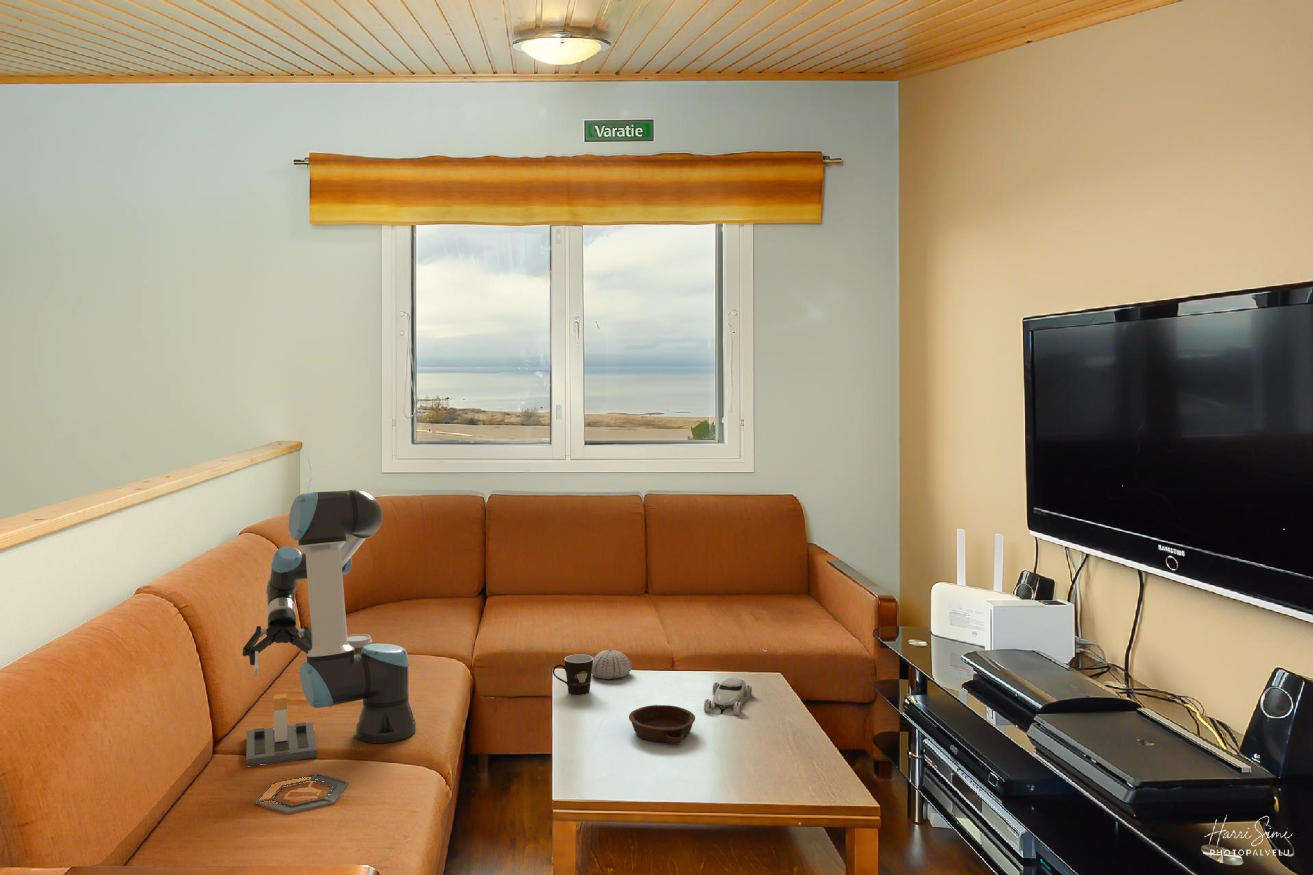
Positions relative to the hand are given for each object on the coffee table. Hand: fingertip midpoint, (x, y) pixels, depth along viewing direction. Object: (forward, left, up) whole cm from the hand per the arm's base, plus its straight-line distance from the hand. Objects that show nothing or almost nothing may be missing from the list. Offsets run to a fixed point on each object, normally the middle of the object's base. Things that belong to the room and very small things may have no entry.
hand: (283, 671), depth 254 cm
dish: (-88, -49, -15) cm, 102 cm away
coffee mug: (-49, -64, -15) cm, 82 cm away
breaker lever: (-11, +10, -13) cm, 20 cm away
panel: (-11, +10, -15) cm, 21 cm away
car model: (-92, -81, -16) cm, 124 cm away
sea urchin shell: (-49, -83, -15) cm, 98 cm away
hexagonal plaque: (-38, +25, -15) cm, 48 cm away
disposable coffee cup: (+19, -41, -15) cm, 48 cm away
